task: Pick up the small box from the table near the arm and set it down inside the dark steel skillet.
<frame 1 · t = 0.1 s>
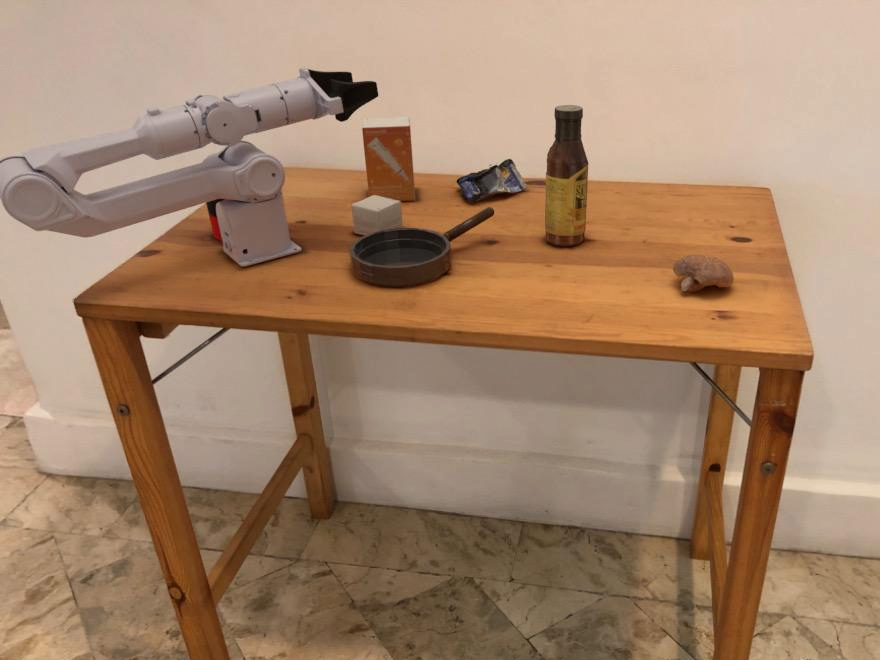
hand: (363, 83, 118), 22 cm above the table, tool horizontal, fingers open, 7 cm apart
pan: (402, 267, 114), on the table
small box 2: (379, 232, 126), on the table
sauce bottle: (565, 241, 122), on the table
small box: (392, 197, 140), on the table
snack package: (489, 195, 140), on the table
soda can: (239, 235, 125), on the table
mushroom: (700, 287, 108), on the table
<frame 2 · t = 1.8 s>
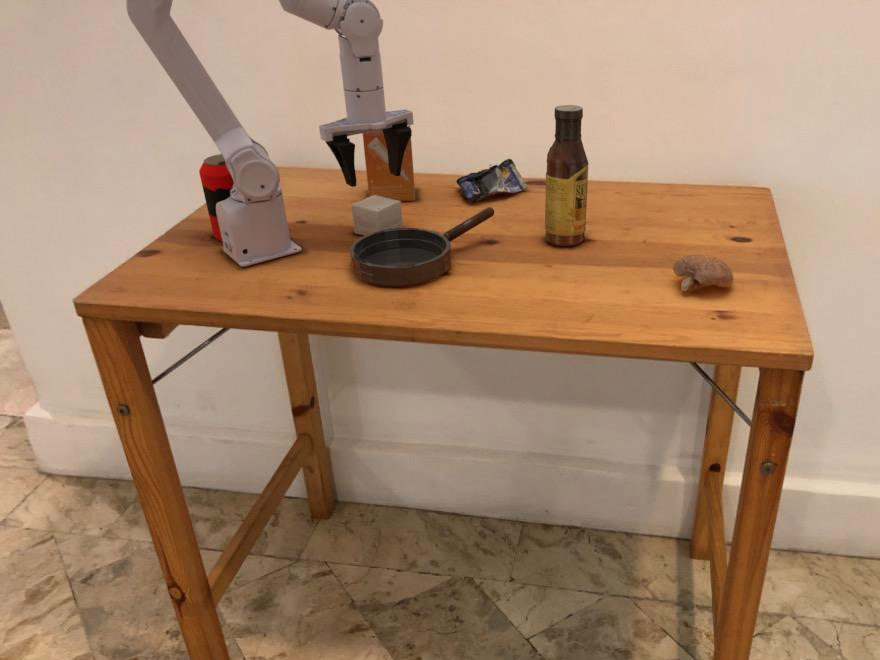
hand: (373, 179, 121), 8 cm above the table, tool pointing down, fingers open, 7 cm apart
nothing on the table moved.
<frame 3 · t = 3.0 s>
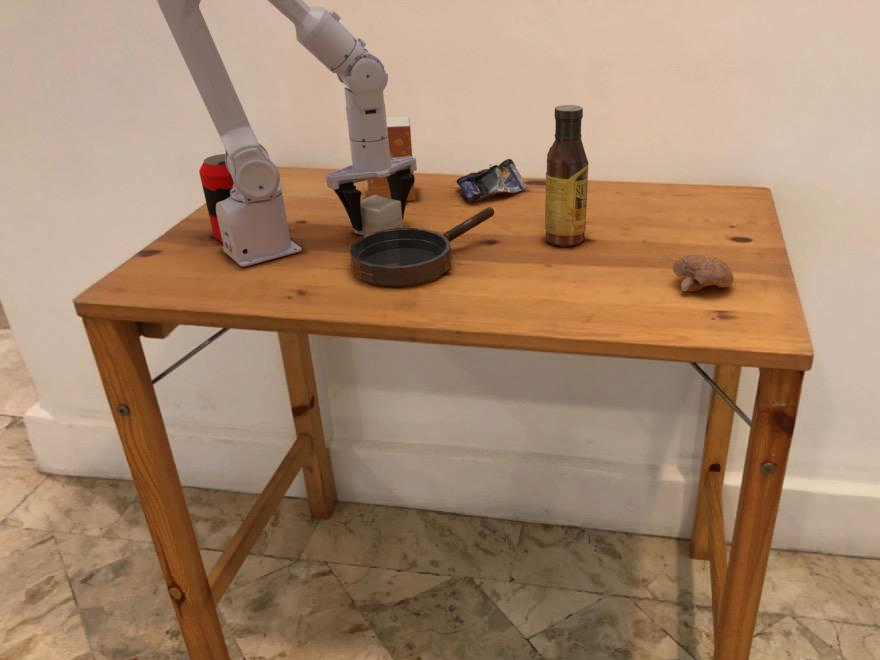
hand: (377, 223, 125), 1 cm above the table, tool pointing down, fingers closed on small box 2, 7 cm apart
small box 2: (379, 233, 126), on the table, touching gripper
everything else where it was.
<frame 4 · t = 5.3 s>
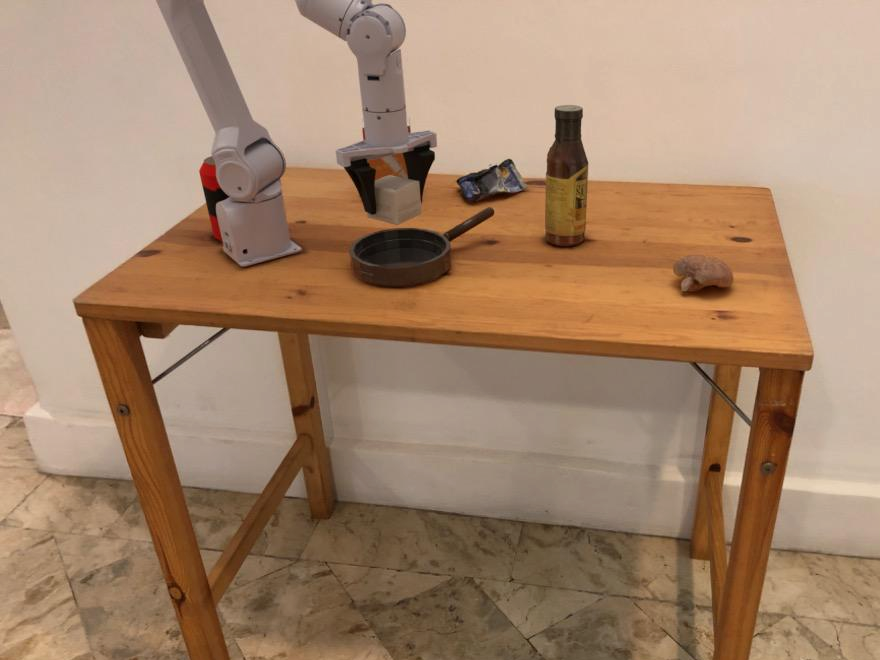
hand: (393, 206, 111), 8 cm above the table, tool pointing down, fingers closed on small box 2, 7 cm apart
small box 2: (394, 217, 112), point 7 cm above the table, touching gripper
everything else where it was.
when the fingers open (2 cm above the table, at t = 7.8 s): small box 2 stays where it is, resting on pan.
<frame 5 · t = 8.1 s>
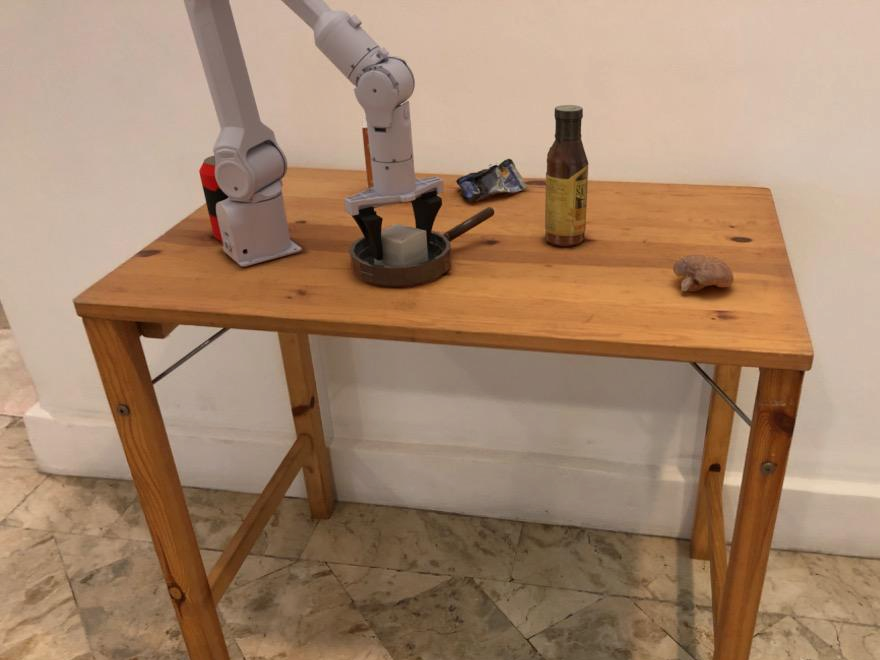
hand: (400, 251, 113), 3 cm above the table, tool pointing down, fingers open, 7 cm apart
small box 2: (401, 265, 114), resting on pan
everything else where it was.
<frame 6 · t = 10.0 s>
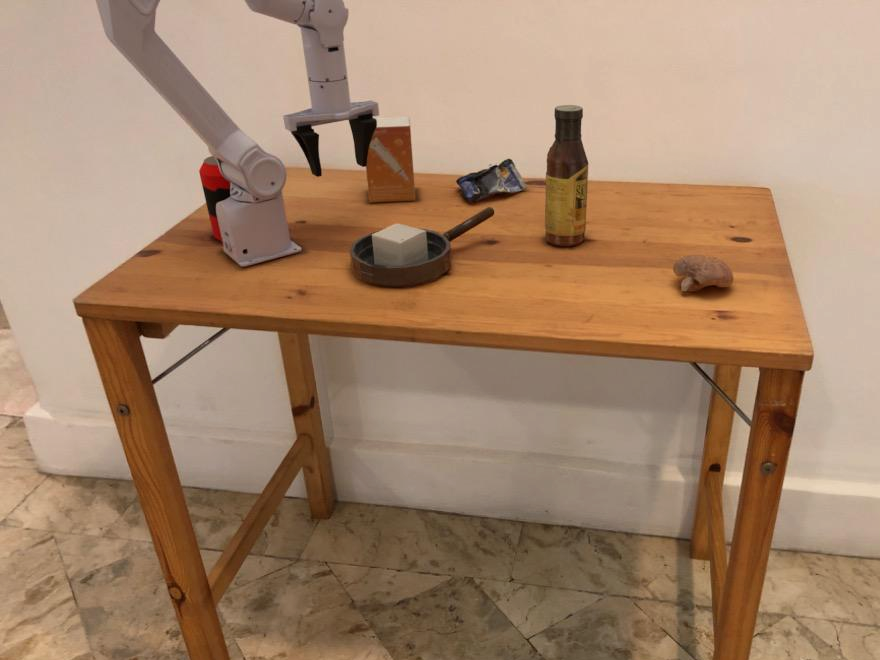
hand: (339, 169, 122), 9 cm above the table, tool pointing down, fingers open, 7 cm apart
nothing on the table moved.
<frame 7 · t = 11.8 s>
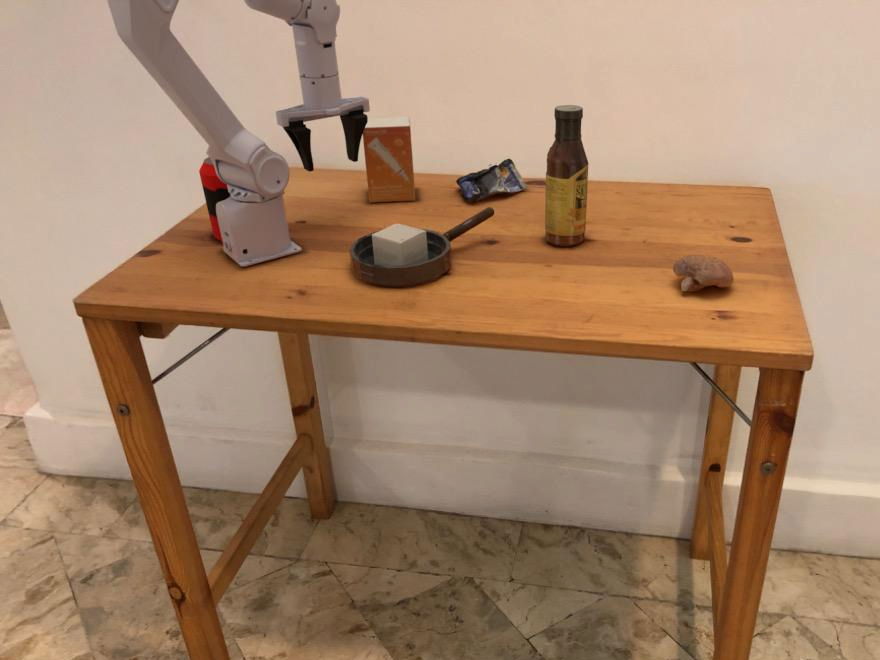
hand: (331, 164, 124), 9 cm above the table, tool pointing down, fingers open, 7 cm apart
nothing on the table moved.
at the end: small box 2 inside the target area in the pan (0.1 cm from its centre), point 0.3 cm above the pan's base; small box 2 tilted 0°; the gripper is holding nothing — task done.
